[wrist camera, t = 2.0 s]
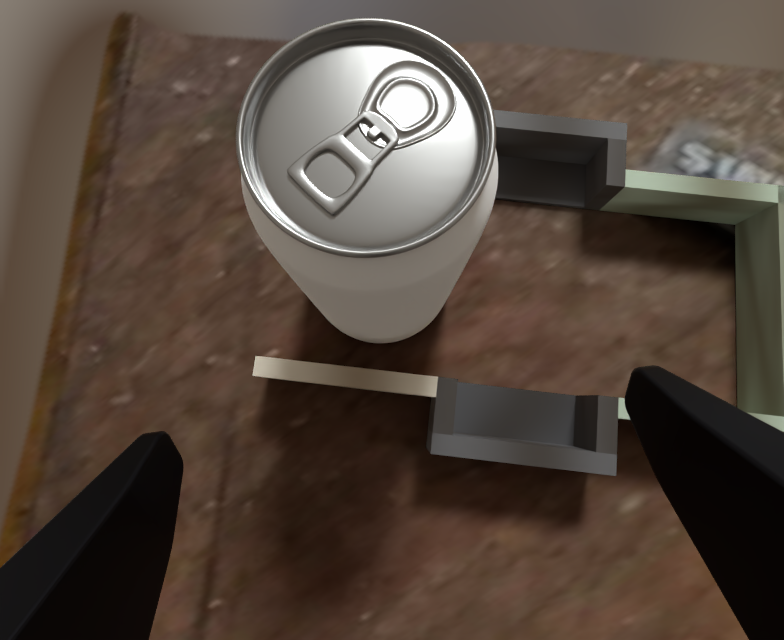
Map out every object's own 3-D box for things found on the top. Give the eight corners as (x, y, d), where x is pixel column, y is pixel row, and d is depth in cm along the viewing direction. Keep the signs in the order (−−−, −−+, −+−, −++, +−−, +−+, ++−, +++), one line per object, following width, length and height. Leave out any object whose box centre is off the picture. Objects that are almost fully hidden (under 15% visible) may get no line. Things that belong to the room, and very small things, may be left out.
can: (477, 276, 22) (580, 128, 10) (381, 374, 21) (366, 343, 9) (380, 186, 22) (365, -51, 11) (284, 278, 22) (152, 133, 10)
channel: (261, 427, 20) (243, 431, 18) (309, 123, 23) (299, 90, 20) (756, 486, 20) (808, 498, 17) (750, 168, 22) (794, 140, 20)
